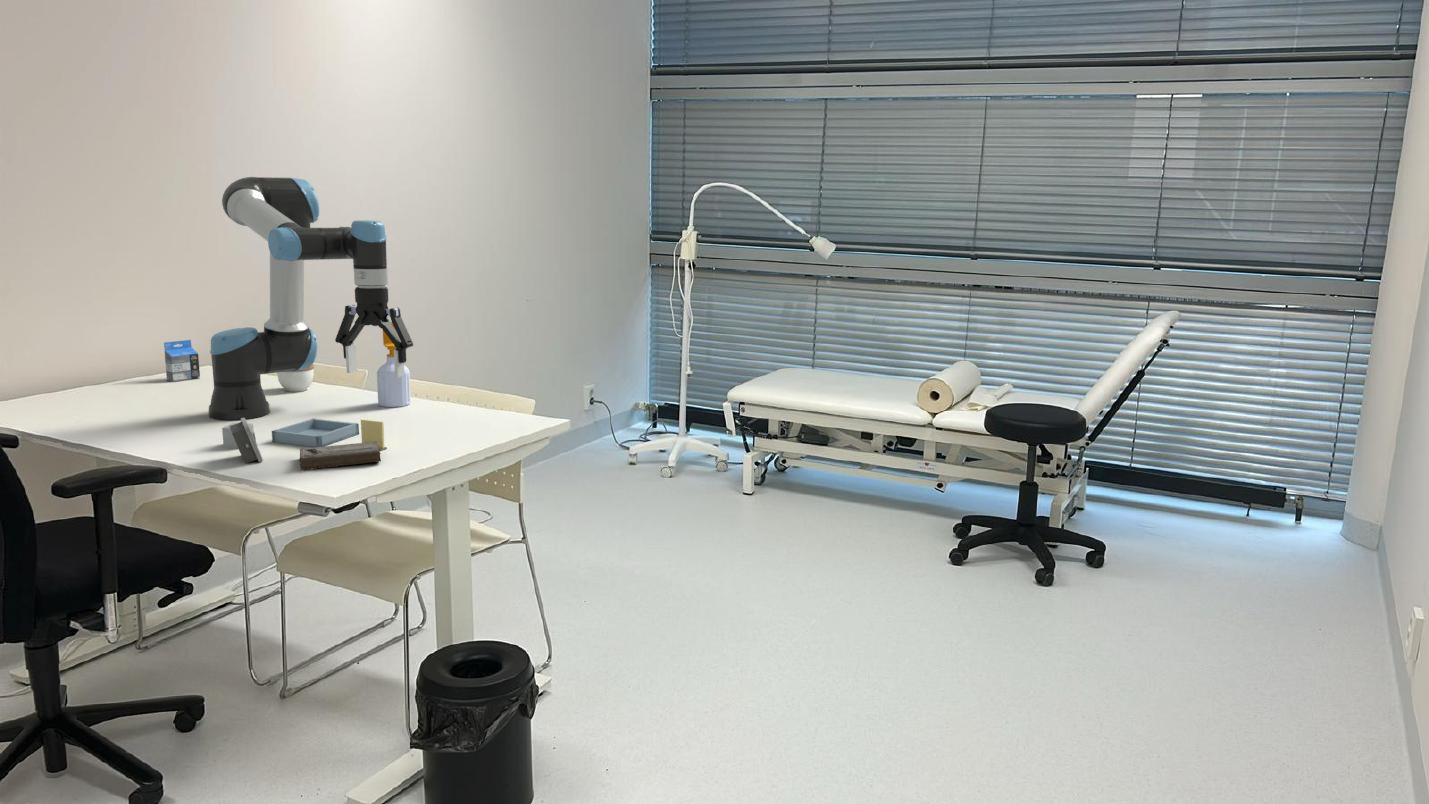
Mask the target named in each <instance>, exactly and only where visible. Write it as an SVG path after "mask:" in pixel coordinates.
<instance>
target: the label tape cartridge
mask: <svg viewBox="0 0 1429 804" xmlns="http://www.w3.org/2000/svg"><path fill="white" fill-rule="evenodd" d="M177 345H179V346H177ZM180 345H181V346H180ZM163 347H164V361H165V374H166V375H165V376H166V381H168V382H171V383H176V382H181V381H190V380H197V379H201V374H200V373H201V372H200V359H199V353H198V352H197V351H196V350H195V349H194V348H193V345H192V339H186V340H176V341H165V342H163Z"/></svg>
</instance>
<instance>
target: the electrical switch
mask: <svg viewBox="0 0 1429 804" xmlns="http://www.w3.org/2000/svg"><path fill="white" fill-rule="evenodd" d="M236 423H237V424H235V425H231V426H229V427H230V429H231V432H232V435H233V437H234V439H235V442H236V444H237V446H238V448H237V449H238V450H239V454H240V457H242V461H243V463H244V464H248V463H251V462H254V461H258V463H261V462H263V461H264V459H263V457H262V453H261V451H260V448H259V447H258V443H257V439H256V434H255V431H254V432H251V430H250V428H249V426H248V424H249V423H248V421H247V419H245V418H241V419H240V422H236Z"/></svg>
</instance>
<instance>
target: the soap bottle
mask: <svg viewBox="0 0 1429 804" xmlns="http://www.w3.org/2000/svg"><path fill="white" fill-rule="evenodd" d="M391 323H392V321H391ZM391 325H392V326H393V327H394V325H393V323H392V324H391ZM394 329H395V327H394ZM382 341H383V342H382V344H383V346H384V347H385V348H387V350H389V353H388V354H386V362H385V363H384V364H382V365H381V366H380V367H378V369H377V371H376V381H377V383H376V385H377V401H378V402H377V403H378V406H380V407H383V408H399V407H400V408H401V407H407V406H409V405H410V404H411V402H412V401H411V376H410V375H411V373H410V369H409V368H408V367H407V366H406V365H405V364H404V376H401V377H395V366H394V350H395V349H396V347H395V346H394V344H393V343H392V341H391V340H390V339H389V337H388V336H387V335H386V333H385V332H384V331H383V330H382Z"/></svg>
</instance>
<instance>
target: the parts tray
mask: <svg viewBox="0 0 1429 804" xmlns="http://www.w3.org/2000/svg"><path fill="white" fill-rule="evenodd" d="M359 425H360V424H359V423H357V422H356V423H355V422H348V421H340V420H332V419H331V420H329V419H322V418H314V417H313V418H310V419H307V420H304V421H301V422H297V423H294V424H290V425H288V426H284V427H281V428H278V429H274V430H271V438H272V439H271V441H272V443H276V444H277V443H278V444H285V445H286V444H287V445H292V446H302V447H308V448H312V447H313V448H314V447H324V446H330V445H332V444H335V443H339V442H340V441H343V440H346V439H350V438H352V437H354V436H358V435H360V426H359Z"/></svg>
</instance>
